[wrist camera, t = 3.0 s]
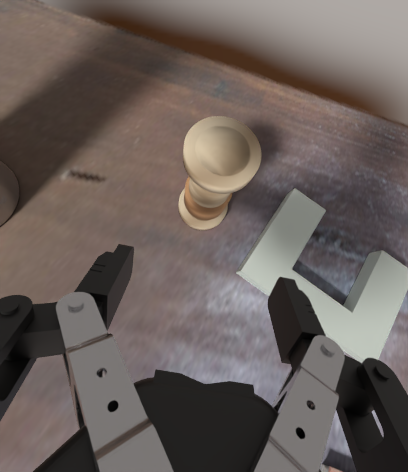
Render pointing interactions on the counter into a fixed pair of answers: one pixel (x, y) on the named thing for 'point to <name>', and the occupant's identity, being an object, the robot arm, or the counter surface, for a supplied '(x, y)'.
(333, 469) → the notebook
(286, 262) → the notched board
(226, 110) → the counter surface
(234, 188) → the bobbin
